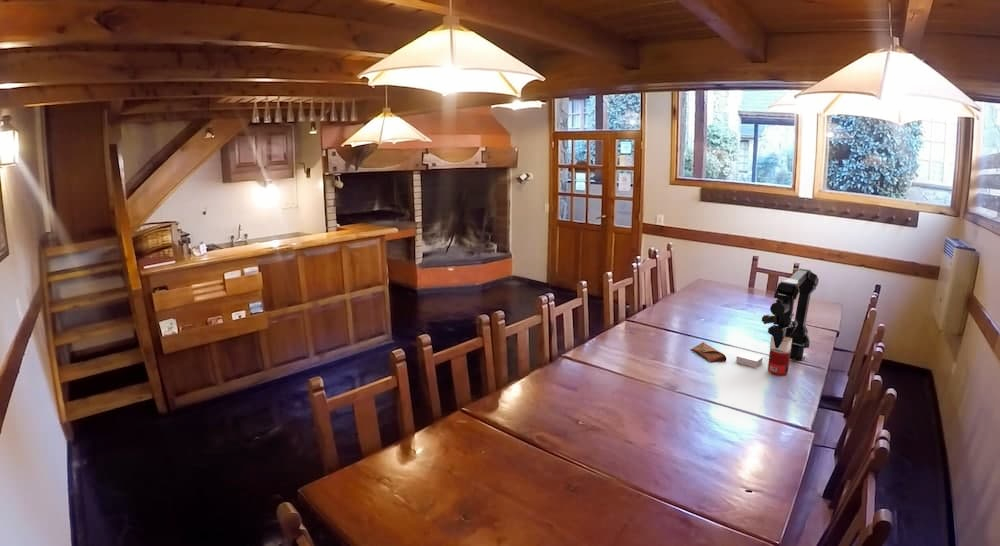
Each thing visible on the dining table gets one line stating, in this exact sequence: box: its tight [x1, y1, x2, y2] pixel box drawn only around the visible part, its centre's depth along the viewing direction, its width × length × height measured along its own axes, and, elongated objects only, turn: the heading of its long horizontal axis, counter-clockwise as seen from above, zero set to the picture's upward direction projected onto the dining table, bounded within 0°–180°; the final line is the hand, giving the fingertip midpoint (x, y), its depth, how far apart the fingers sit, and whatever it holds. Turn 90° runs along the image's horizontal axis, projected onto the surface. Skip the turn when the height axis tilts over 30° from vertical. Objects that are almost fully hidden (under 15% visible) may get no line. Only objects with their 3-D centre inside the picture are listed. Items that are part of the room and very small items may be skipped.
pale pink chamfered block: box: [735, 351, 764, 369], centre depth 267 cm, size 7×9×3 cm
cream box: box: [769, 335, 792, 352], centre depth 254 cm, size 5×7×5 cm
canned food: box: [767, 347, 791, 377], centre depth 256 cm, size 8×8×11 cm
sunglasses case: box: [689, 341, 727, 364], centre depth 276 cm, size 18×7×7 cm
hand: (780, 345), depth 255 cm, fingers open, 9 cm apart
